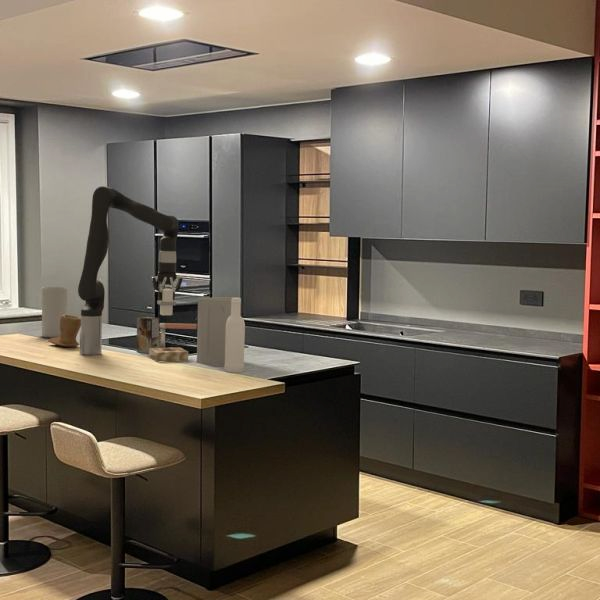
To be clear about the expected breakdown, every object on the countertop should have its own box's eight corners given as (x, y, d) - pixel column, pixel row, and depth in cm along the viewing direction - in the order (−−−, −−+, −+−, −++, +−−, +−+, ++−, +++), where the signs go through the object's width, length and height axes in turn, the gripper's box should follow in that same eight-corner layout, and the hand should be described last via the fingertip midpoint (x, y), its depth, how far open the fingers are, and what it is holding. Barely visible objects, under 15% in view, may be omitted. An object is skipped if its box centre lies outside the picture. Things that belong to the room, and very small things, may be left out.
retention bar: (196, 329, 385) (196, 324, 385) (159, 328, 384) (159, 323, 384) (196, 328, 388) (196, 323, 388) (159, 327, 387) (159, 323, 387)
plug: (160, 315, 370) (161, 290, 369) (156, 313, 376) (157, 289, 375) (175, 315, 373) (176, 290, 372) (171, 313, 379) (172, 289, 378)
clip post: (158, 356, 383) (158, 329, 382) (155, 354, 388) (156, 328, 387) (169, 355, 385) (169, 329, 384) (166, 354, 390) (166, 327, 389)
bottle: (233, 368, 355) (235, 297, 353) (247, 371, 350) (249, 298, 348) (220, 370, 349) (222, 297, 347) (234, 373, 344) (236, 299, 342)
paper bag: (211, 367, 357) (213, 300, 355) (196, 362, 370) (197, 297, 368) (251, 364, 368) (253, 299, 366) (234, 359, 380) (236, 297, 378)
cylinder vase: (36, 336, 436) (37, 288, 434) (50, 334, 448) (51, 286, 446) (58, 338, 433) (58, 289, 431) (71, 335, 445) (72, 287, 443)
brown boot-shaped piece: (86, 347, 406) (86, 315, 405) (63, 348, 397) (63, 316, 396) (69, 343, 417) (70, 312, 415) (47, 345, 408) (47, 313, 407)
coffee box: (160, 352, 396) (160, 317, 395) (151, 353, 390) (152, 318, 389) (144, 350, 400) (145, 316, 399) (135, 352, 394) (136, 317, 393)
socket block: (156, 361, 367) (156, 352, 367) (149, 357, 380) (149, 348, 380) (188, 360, 373) (188, 351, 373) (179, 356, 386) (179, 347, 385)
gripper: (153, 261, 366) (152, 301, 368) (185, 262, 372) (184, 301, 374) (149, 260, 373) (148, 299, 375) (181, 261, 379) (180, 299, 380)
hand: (166, 300), depth 374 cm, fingers closed on plug, 4 cm apart
